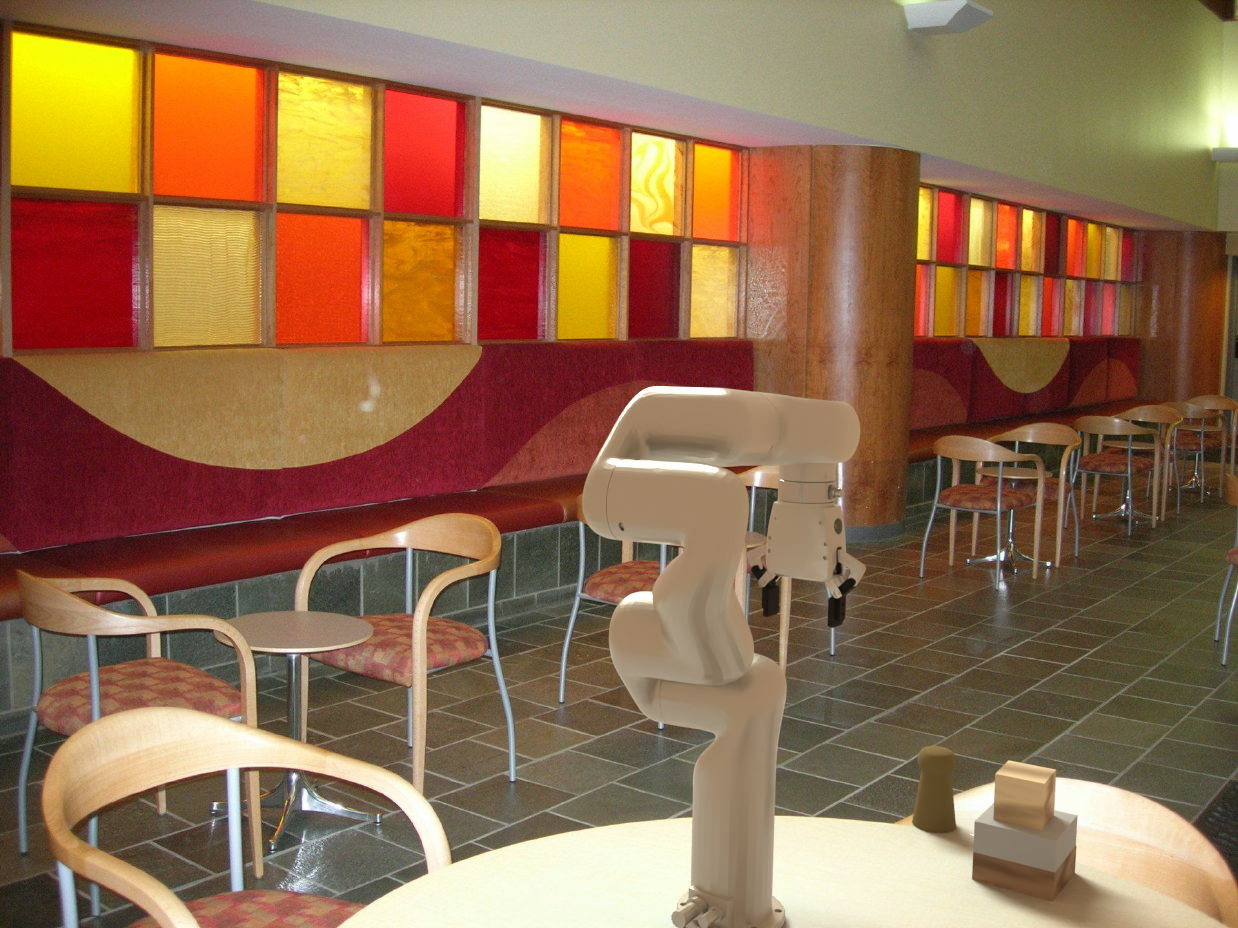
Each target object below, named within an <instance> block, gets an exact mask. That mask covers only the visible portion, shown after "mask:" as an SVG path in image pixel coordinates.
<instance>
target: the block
mask: <svg viewBox="0 0 1238 928" xmlns="http://www.w3.org/2000/svg"><path fill="white" fill-rule="evenodd" d="M1056 780H1057V769H1054V768H1049V767H1045V766H1039V765H1034V764H1029V763H1024V762H1019V761H1015V760H1014V761H1013V760H1007V761H1006V762H1005V763H1004V764H1003V765H1002V766H1001V767H1000V768H999V770H997V771H996V773H995V774H994V795H993V796H994V797H993V798H994V799H993V803H994V816H993V820H997V821H1001V822H1006V823H1010V824H1015V825H1019V826H1023V827H1028V828H1032V829H1037V830H1041V831H1042V830H1043V829H1044V828H1045V826H1046V825H1047V824H1048V823H1049V821H1050V820H1051V819H1052V817H1053V816H1054V810H1055V805H1056V804H1055V803H1056V782H1057V781H1056Z"/></svg>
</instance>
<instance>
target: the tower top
mask: <svg viewBox="0 0 1238 928" xmlns="http://www.w3.org/2000/svg"><path fill="white" fill-rule="evenodd" d="M993 816H994V802H993V803H992V804H991V805H990V806H988V808H987V809H986V810H984V812H982V813H981V815H980V816H979V817H977V818H976V819H975V821H974V827H973V829H974V830H973V850H972V851H973V852H976V853H980V854H983V855H987V856H991V857H995V858H999V859H1003V860H1007V861H1011V862H1015V863H1019V864H1023V865H1027V866H1031V867H1035V868H1039V869H1043V870H1047V871H1050V872H1054V873H1055V872H1056V870H1057V869H1058V868H1059V867H1060V865H1061V864H1062V863H1063V861H1064V860H1065V859H1066V858H1067V856H1068V855H1069V854H1070V852H1071V851H1072V850H1073V849H1074V847H1075V846H1076V847H1077V832H1078V830H1077V829H1078V828H1077V827H1078V815H1077V814H1074V813H1069V812H1063V811H1061V810H1055V809H1054V816H1053V817H1052V819H1051V820H1050V821H1049V823H1048V824H1047V825H1046V826H1045V828H1044V829H1043V830H1042V831H1041V830H1037V829H1032V828H1028V827H1023V826H1019V825H1015V824H1010V823H1006V822H1001V821H997V820H993Z"/></svg>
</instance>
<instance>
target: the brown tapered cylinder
mask: <svg viewBox="0 0 1238 928" xmlns="http://www.w3.org/2000/svg"><path fill="white" fill-rule="evenodd" d="M956 764H957V759H956V756H955V753H954V752H953V751H952V750H951V749H949V748H947V747H944V746H938V745H927V746H925V747H922V748H921V749H920V751H918V756H917V765H918V767H919V768H920V770H921V771H920V777H919V781H918V785H917V786H918V787H917V792H916V797H915V803H914V808H913V809H914V810H913V815H912V819H911V823H912V826H914V827H915V828H917V829H919V830H921V831H924V832H929V833H937V834H938V833H939V834H944V833H945V834H946V833H950V832H954V830H956V829H957V824H956V823H957V821H956V811H955V799H954V788H953V777H952V773H954V771H955V768H956Z"/></svg>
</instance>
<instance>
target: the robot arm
mask: <svg viewBox="0 0 1238 928" xmlns="http://www.w3.org/2000/svg"><path fill="white" fill-rule="evenodd" d="M860 439H861V424H860V419H859V416H858V414H857V412H856V410H855V408H854V407H853V406H852V405H851V404H850V403H848V402H846V401H838V400H828V399H827V400H826V399H816V398H805V397H799V396H791V395H787V394H780V393H771V392H761V391H753V390H752V391H751V390H742V389H734V388H727V387H725V388H724V387H702V386H701V387H700V386H699V387H697V386H696V387H695V386H693V387H692V386H665V385H661V386H660V385H657V386H649V387H647V388H644V389H642V390H640V391H639V392H638V393H637V394H635V396H634V397H633V398H632V399H631V400H630V401H629V402H628V404H627V405H626V406H625V408H623V410H622V412H621V414H620V415H619V417H618V418H617V420H616V421H615V423H614V425H613V427H612V429H611V430H610V432H609V434H608V436H607V438H606V439H605V441H604V442H603V445H602V447H601V449H600V450H599V452H598V455H597V456H596V458H595V459H594V462H593V463H592V464H591V468H590V469H589V472H588V473H587V477H586V479H585V482H584V486H583V491H582V497H581V498H582V500H581V501H582V502H581V504H582V505H581V507H582V513H583V517H584V519H585V523H587V525H588V527H589V528H590V529H591V530H592V531H593V532H594V533H595V534H596V535H599V536H601V537H602V538H605V539H609V540H614V541H622V542H623V541H624V542H634V543H635V542H636V543H645V544H657V545H668V546H677V547H678V546H679V547H683V551H682V552H681V553H680V554H679V555H677V556H675V558H673V559H672V560H671V561H670V562H669V563H668V564H667V566H666V567H664V568H663V570H662V571H661V573H660V575H659V576H658V577H657V579H655V580H656V581H655V582H654V584H653V587H652V590H651V591H650V590H643V591H637V592H632V593H630V594H627V596H625V597H624V598H623V599H621V601H619V603H618V604H617V605H616V608H614V611H613V613H612V616H611V620H610V621H609V627H608V628H609V631H608V647H609V652H610V657H611V661H612V663H613V666H614V668H615V670H616V672H617V674H618V676H619V678H620V679H621V681H622V683H623V684H624V686H625V687H626V689H627V691H628V693H629V694H630V696H631V698H632V700H633V701H634V703H635V705H636V706H637V707H638V709H639V711H640V712H641V713H642V714H643V715H644V716H645V717H646V718H648V719H649V720H650V721H653V722H656V723H661V724H665V725H671V726H676V727H681V728H682V727H683V728H687V729H689V728H690V729H694V730H701V731H704V732H709V733H712V734H713V735H714V736H715V738H714V740H713V741H712V743H710V744H709V746H707V747H706V749H704V751H702V753H701V754H700V755H699V757H698V759H697V760H696V763H695V764H694V769H693V773H692V774H693V775H692V812H691V813H692V815H691V817H692V821H691V825H692V827H691V859H690V860H691V861H690V863H691V864H690V886H688V891H687V892H686V893H684V894H683V895H682V896H681V897H679V899H678V901H677V903H676V910H675V911H673V912H672V914H671V916H670V917H671V918H670V919H671V921H672V925H674V926H675V927H676V928H783V927H784V926H785V921H786V910H785V907H784V905H783V904H782V902H781V901H780V900H779V899H777V897H775V896H773V883H774V882H773V881H774V880H773V878H774V849H775V848H774V847H775V819H776V818H775V815H776V813H775V812H776V780H777V779H776V776H777V757H778V745H779V739H780V732H781V728H782V722H783V716H784V711H785V706H786V701H787V692H788V685H787V678H786V675H785V673H784V672H785V671H784V670H783V668H782V667H781V666H780V665H779V664H778V663H777V662H776V661H774V660H773V659H772V658H769V657H767V656H765V655H762V654H760V653H755V643H754V638H753V637H754V636H753V634H752V632H751V628H750V626H749V625H750V624H749V622H748V620H747V618H746V615H745V613H744V610H743V608H742V606H741V603H740V601H739V598H738V595H737V594H736V591H735V588H734V583H735V579H736V575H737V572H738V569H739V566H740V562H741V559H742V554H743V550H744V545H745V541H746V537H747V529H748V524H749V515H750V499H749V493H748V489H747V487H746V484H745V483H744V481H743V480H742V478H740V476H739V475H737V474H736V473H735V472H733V471H732V470H729V469H727V468H726V467H729V468H730V467H731V468H732V467H748V466H753V467H754V466H778V477H777V478H778V481H777V482H778V484H777V500H776V501H773V503H772V508H771V511H770V512H771V513H770V516H769V521H768V527H767V534H766V543H763V544H762V545H759V546H757V547H755V548H753V549H751V550H747V552H746V554H745V556H746V559H747V561H748V564H749V566H750V570H751V571H750V572H751V573H752V575H753V576H754V577H755V578H756V580H757V581H758V582H757V583H758V585H759V587H761V608H762V616H763V617H765V618H768V617H772V616H774V615H777V614H779V611H780V586H779V584H777V582H778V580H779V579H780V578H781V577H784V578H785V577H786V578H791V579H796V580H797V579H799V580H805V581H806V580H807V581H814V582H821V583H822V582H823V583H824V584H825V586H826V588H827V589H828V591H829V592H830V594H831V595H832V596H830V597H829V598H828V603H827V604H828V605H827V627H828V628H831V629H834V628H836V627H839V626H842V625H843V622H844V621H845V620H846V612H847V609H846V607H847V606H846V604H847V596H848V595H850V593H851V592H852V591H853V590H855V588H856V587H857V586H859V584H860V581H861V579H862V578H863V576H864V575H865V572H866V571H867V567H866V565H865V564H863V563H862V562H861V561H860V560H858V559H857V558H855V557H854V556H852V555H850V554H849V553H847V545H846V544H847V541H846V530H845V522H844V514H843V510H842V505H840V504H836V502H837V499H839V498H840V499H842V498H844V496H845V489H844V487H839V486H838V481H836V479H837V478H836V477H837V464H842V463H845V462H847V461H848V460H850V459H851V458H852V457H853V455H854V454H855V452H856V451H857V449H858V445H859V444H860ZM762 556H765V566H764V565H763V564H762V560H761V558H762ZM847 568H848V569H849V571H850V573H849V575H848V578H846V579H845V580H844V578H843V576H845V574H846V570H847Z"/></svg>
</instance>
